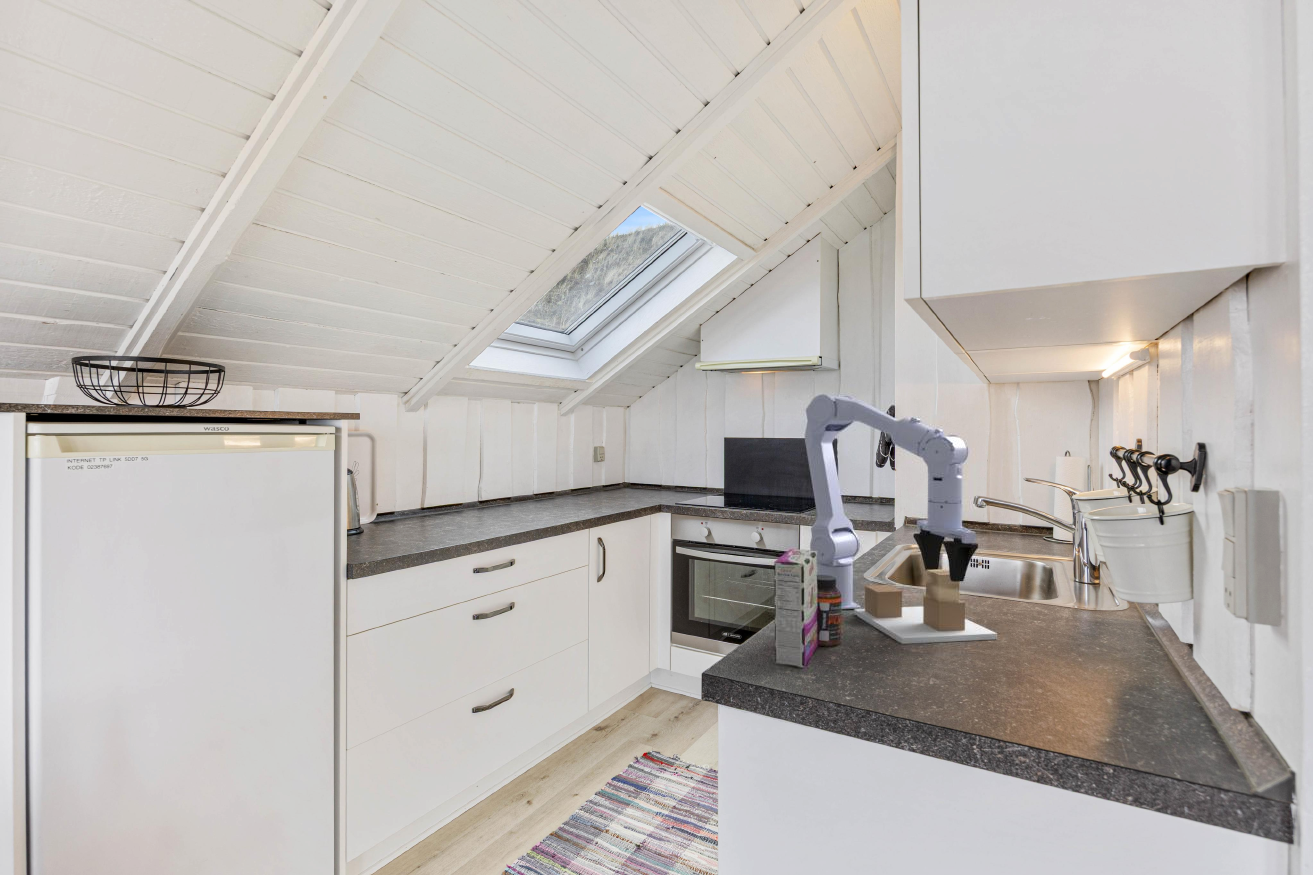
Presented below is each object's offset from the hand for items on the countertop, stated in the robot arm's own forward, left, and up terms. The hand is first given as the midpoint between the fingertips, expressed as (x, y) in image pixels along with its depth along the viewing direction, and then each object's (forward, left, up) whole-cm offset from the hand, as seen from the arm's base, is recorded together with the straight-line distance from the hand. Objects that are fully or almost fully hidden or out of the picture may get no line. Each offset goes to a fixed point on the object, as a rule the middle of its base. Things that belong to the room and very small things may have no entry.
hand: (944, 576), depth 116 cm
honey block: (0, 0, -4) cm, 4 cm away
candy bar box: (+8, -31, -10) cm, 34 cm away
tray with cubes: (-4, -2, -10) cm, 11 cm away
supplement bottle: (+2, -24, -10) cm, 26 cm away
